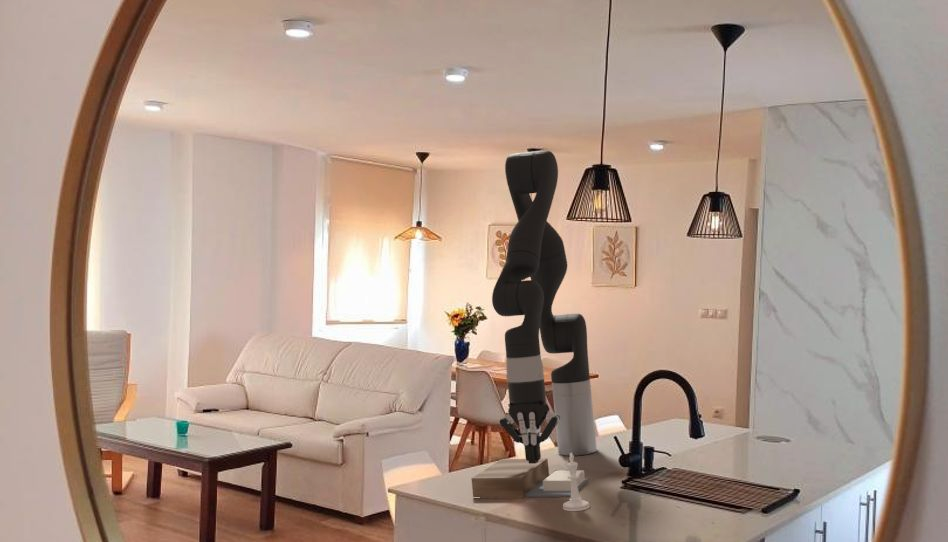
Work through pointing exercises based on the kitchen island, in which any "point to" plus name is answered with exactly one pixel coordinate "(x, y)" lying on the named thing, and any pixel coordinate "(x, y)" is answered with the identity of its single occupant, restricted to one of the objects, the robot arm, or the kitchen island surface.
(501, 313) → the robot arm
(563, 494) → the mat
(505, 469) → the block
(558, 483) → the white rectangular block
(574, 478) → the chess piece
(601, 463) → the kitchen island surface
